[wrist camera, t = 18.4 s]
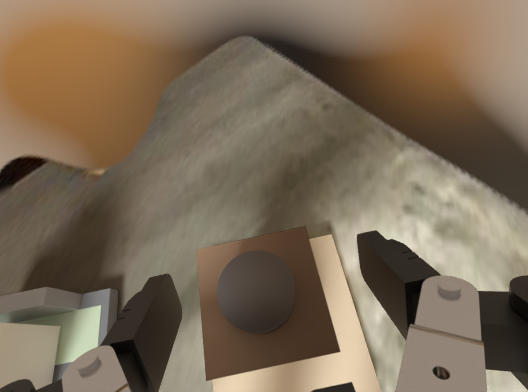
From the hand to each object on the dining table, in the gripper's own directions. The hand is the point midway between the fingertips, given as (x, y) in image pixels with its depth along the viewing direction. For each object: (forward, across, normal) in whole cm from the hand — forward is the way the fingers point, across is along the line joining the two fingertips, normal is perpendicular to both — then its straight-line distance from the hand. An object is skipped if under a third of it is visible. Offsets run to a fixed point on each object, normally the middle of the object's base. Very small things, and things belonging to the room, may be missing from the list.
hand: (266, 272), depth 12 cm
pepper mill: (+4, 0, +6) cm, 7 cm away
